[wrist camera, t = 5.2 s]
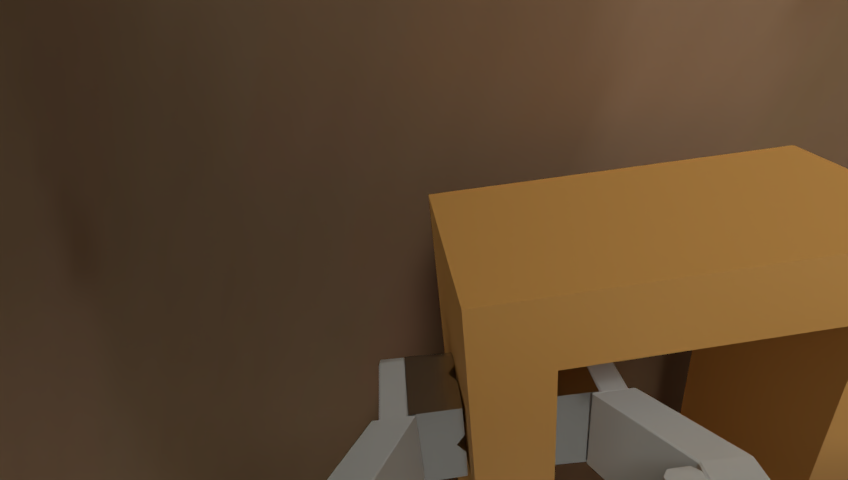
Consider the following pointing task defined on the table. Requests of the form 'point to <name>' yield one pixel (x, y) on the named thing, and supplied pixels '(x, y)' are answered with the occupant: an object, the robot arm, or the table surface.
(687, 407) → the orange rectangular frame
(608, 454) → the robot arm
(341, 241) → the table surface
